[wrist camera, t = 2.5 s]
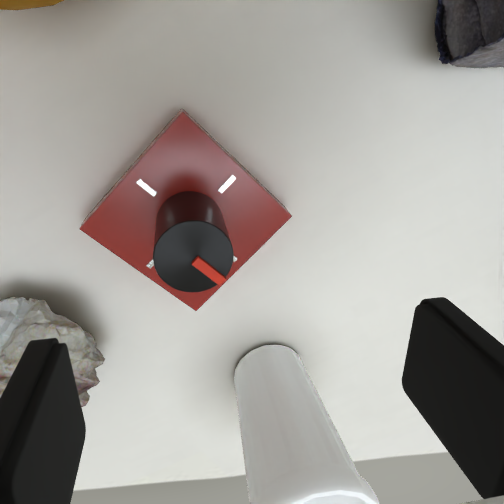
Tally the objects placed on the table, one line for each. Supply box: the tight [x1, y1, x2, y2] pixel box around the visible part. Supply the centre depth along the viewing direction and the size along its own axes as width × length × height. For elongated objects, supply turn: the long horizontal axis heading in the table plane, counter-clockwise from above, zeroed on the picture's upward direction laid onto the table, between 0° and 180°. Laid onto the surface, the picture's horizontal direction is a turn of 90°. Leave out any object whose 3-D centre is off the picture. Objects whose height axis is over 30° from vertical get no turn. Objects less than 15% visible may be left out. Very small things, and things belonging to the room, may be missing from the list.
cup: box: [234, 345, 380, 504], centre depth 30 cm, size 8×8×14 cm
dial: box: [153, 191, 234, 292], centre depth 25 cm, size 4×4×6 cm
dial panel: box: [80, 109, 292, 311], centre depth 28 cm, size 10×10×2 cm
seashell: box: [0, 297, 105, 407], centre depth 28 cm, size 14×9×10 cm
